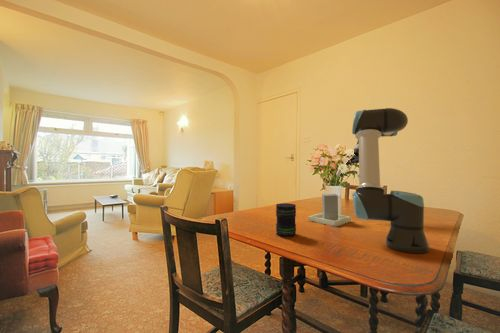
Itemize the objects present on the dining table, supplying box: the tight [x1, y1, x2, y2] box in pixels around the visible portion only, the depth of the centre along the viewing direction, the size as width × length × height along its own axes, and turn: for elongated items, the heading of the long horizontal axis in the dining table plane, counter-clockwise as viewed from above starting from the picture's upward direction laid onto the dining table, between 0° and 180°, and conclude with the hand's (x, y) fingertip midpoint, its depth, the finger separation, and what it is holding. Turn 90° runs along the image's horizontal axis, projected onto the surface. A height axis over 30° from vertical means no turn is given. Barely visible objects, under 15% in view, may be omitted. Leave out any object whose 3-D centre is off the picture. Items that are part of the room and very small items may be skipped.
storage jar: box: [275, 202, 297, 238], centre depth 119 cm, size 10×10×15 cm
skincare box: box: [321, 193, 339, 221], centre depth 146 cm, size 8×7×16 cm
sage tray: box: [307, 212, 352, 228], centre depth 146 cm, size 18×18×3 cm
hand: (347, 176), depth 148 cm, fingers open, 13 cm apart
